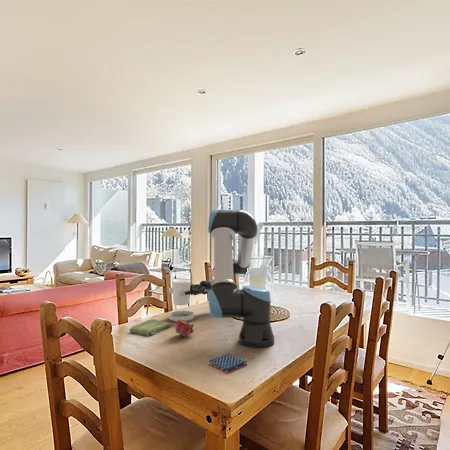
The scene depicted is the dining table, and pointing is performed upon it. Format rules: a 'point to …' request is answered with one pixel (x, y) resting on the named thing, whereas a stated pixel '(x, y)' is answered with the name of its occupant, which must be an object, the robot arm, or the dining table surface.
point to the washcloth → (150, 327)
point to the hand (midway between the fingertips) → (174, 292)
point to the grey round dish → (181, 316)
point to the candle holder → (180, 286)
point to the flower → (183, 328)
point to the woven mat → (228, 363)
